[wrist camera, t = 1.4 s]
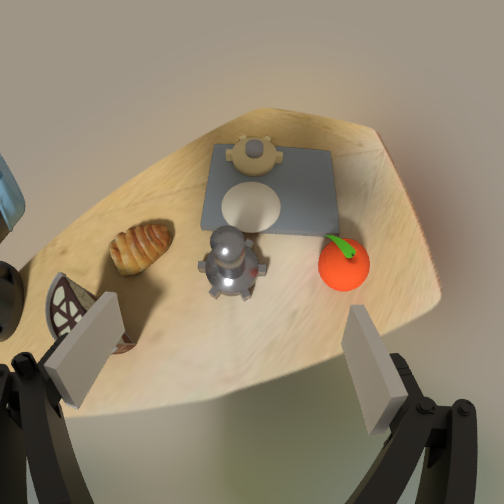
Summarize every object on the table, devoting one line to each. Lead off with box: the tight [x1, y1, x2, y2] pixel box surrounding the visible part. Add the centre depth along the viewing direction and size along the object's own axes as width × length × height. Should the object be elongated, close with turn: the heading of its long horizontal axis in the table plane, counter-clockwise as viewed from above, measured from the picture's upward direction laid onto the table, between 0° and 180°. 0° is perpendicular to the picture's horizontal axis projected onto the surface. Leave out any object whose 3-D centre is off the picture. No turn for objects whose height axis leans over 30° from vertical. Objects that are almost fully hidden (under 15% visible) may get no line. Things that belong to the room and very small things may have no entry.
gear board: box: [200, 134, 340, 237], centre depth 42 cm, size 20×18×5 cm
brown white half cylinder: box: [45, 272, 136, 355], centre depth 31 cm, size 12×6×10 cm, turn 48°
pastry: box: [109, 224, 172, 276], centre depth 39 cm, size 9×7×4 cm
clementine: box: [318, 235, 370, 291], centre depth 36 cm, size 8×7×7 cm
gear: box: [198, 225, 266, 301], centre depth 34 cm, size 9×8×10 cm
